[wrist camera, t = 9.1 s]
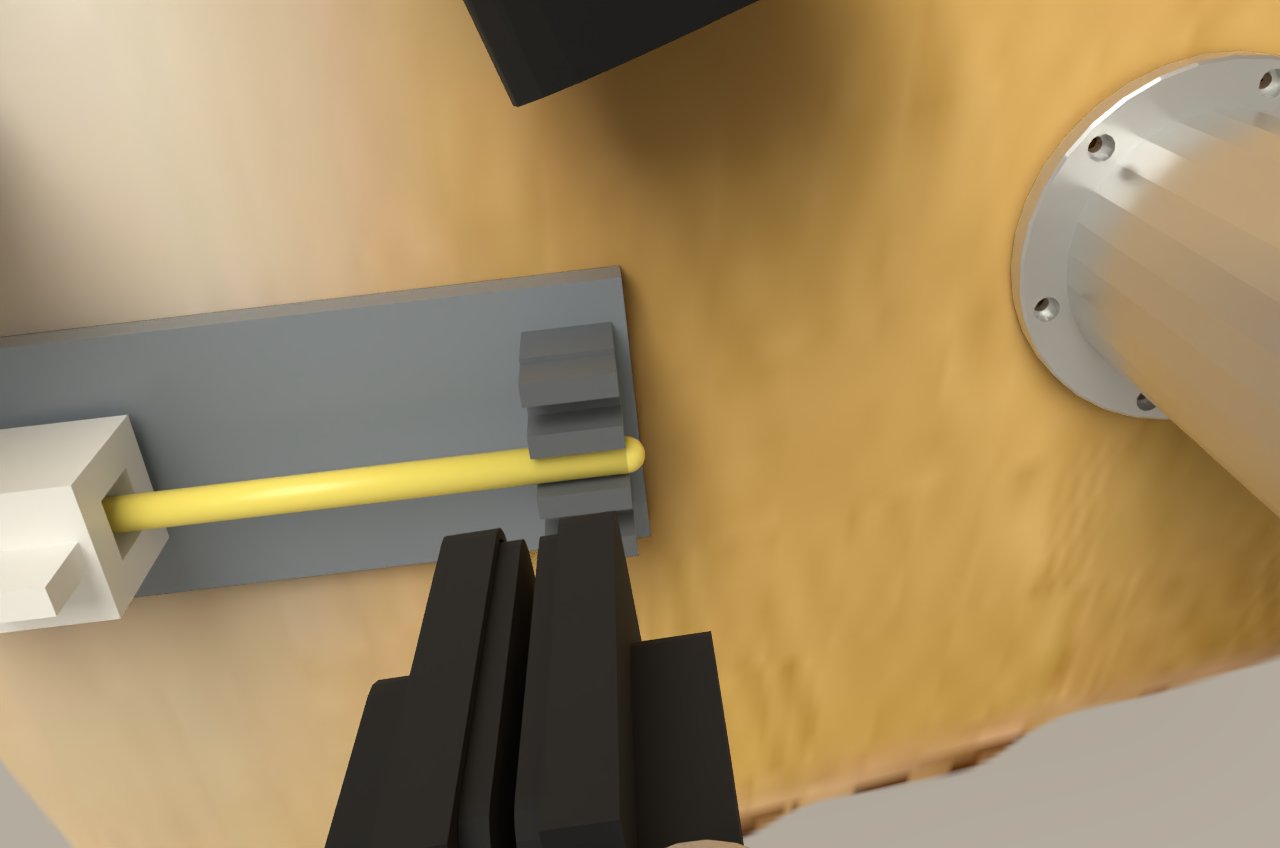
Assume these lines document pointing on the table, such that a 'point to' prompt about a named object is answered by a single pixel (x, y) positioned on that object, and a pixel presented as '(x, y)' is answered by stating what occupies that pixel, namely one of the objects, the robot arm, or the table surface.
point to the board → (354, 414)
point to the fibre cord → (360, 486)
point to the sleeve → (69, 523)
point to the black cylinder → (580, 36)
